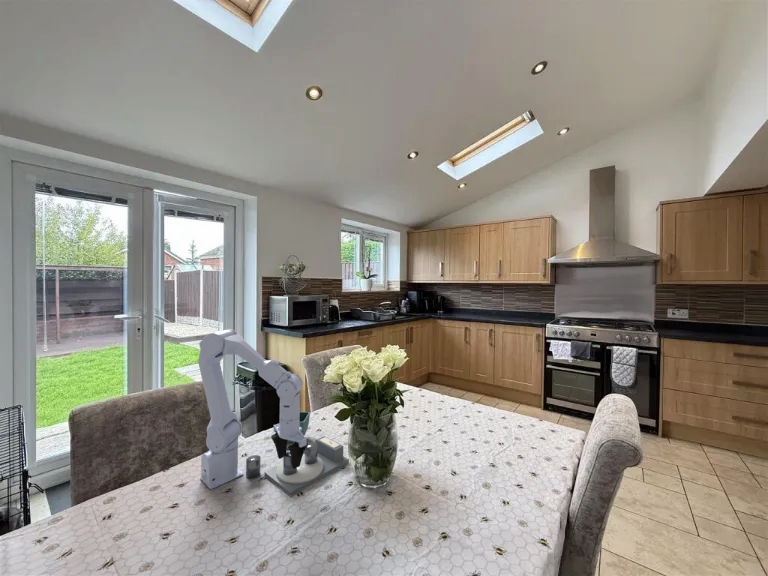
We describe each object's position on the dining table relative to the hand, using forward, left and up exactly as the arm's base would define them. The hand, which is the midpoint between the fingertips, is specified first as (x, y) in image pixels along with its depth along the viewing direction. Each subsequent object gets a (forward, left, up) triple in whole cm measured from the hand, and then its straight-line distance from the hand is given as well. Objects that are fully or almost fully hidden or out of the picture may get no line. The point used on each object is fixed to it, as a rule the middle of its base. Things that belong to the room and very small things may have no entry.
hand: (288, 462), depth 94 cm
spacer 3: (+8, 0, -3) cm, 9 cm away
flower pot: (+15, +19, -6) cm, 25 cm away
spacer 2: (0, 0, -3) cm, 3 cm away
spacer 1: (-6, +10, -5) cm, 13 cm away
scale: (+7, 0, -5) cm, 9 cm away
